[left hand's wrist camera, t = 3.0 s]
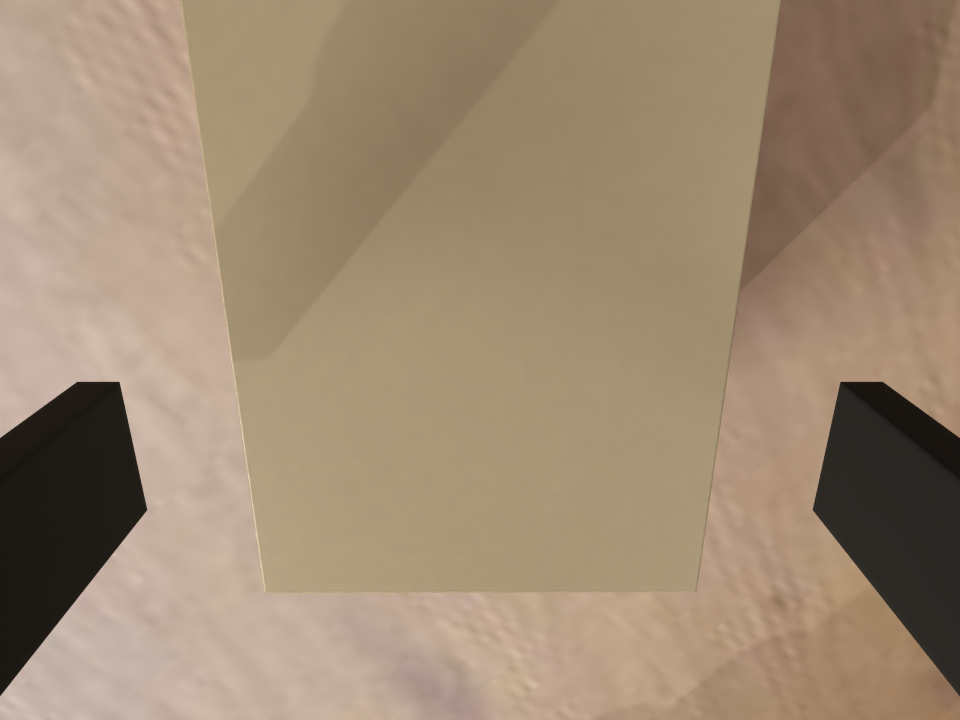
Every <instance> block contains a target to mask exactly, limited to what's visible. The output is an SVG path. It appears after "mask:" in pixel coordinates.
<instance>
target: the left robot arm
mask: <svg viewBox="0 0 960 720" xmlns="http://www.w3.org/2000/svg"><path fill="white" fill-rule="evenodd" d="M146 511H147V507H146V502H145V498H144V493H143V488H142V484H141V479H140V475H139V470H138V465H137V461H136V456H135V452H134V447H133V442H132V438H131V433H130V429H129V424H128V419H127V415H126V410H125V405H124V401H123V396H122V392H121V387H120V382H77V383H75V384H74V385H72V386H71V387H70V388H68V389H67V390H66V391H64V392H63V393H61V394H60V395H59V396H57V397H56V398H55V399H53V400H52V401H50V402H49V403H48V404H46V405H45V406H44V407H42V408H41V409H39V410H38V411H37V412H35V413H34V414H33V415H31V416H30V417H28V418H27V419H26V420H24V421H23V422H22V423H20V424H19V425H17V426H16V427H15V428H13V429H12V430H11V431H9V432H8V433H6V434H5V435H4V436H2V437H1V438H0V696H1V694H2V693H3V692H4V691H5V689H6V688H7V687H8V686H9V684H10V683H11V682H12V680H13V679H14V678H15V677H16V675H17V674H18V673H19V672H20V670H21V669H22V668H23V667H24V665H25V664H26V663H27V661H28V660H29V659H30V658H31V656H32V655H33V654H34V653H35V651H36V650H37V649H38V648H39V646H40V645H41V644H42V643H43V641H44V640H45V639H46V637H47V636H48V635H49V634H50V632H51V631H52V630H53V629H54V627H55V626H56V625H57V624H58V622H59V621H60V620H61V618H62V617H63V616H64V615H65V613H66V612H67V611H68V610H69V608H70V607H71V606H72V605H73V603H74V602H75V601H76V599H77V598H78V597H79V596H80V594H81V593H82V592H83V591H84V589H85V588H86V587H87V586H88V584H89V583H90V582H91V580H92V579H93V578H94V577H95V575H96V574H97V573H98V572H99V570H100V569H101V568H102V567H103V565H104V564H105V563H106V561H107V560H108V559H109V558H110V556H111V555H112V554H113V553H114V551H115V550H116V549H117V548H118V546H119V545H120V544H121V543H122V541H123V540H124V539H125V537H126V536H127V535H128V534H129V532H130V531H131V530H132V529H133V527H134V526H135V525H136V524H137V522H138V521H139V520H140V518H141V517H142V516H143V515H144V513H145V512H146ZM813 511H814V512H815V513H816V515H817V516H818V517H819V518H820V520H821V521H822V522H823V524H824V525H825V526H826V527H827V529H828V530H829V531H830V532H831V534H832V535H833V536H834V537H835V539H836V540H837V541H838V543H839V544H840V545H841V546H842V548H843V549H844V550H845V551H846V553H847V554H848V555H849V556H850V558H851V559H852V560H853V561H854V563H855V564H856V565H857V567H858V568H859V569H860V570H861V572H862V573H863V574H864V575H865V577H866V578H867V579H868V580H869V582H870V583H871V584H872V586H873V587H874V588H875V589H876V591H877V592H878V593H879V594H880V596H881V597H882V598H883V599H884V601H885V602H886V603H887V605H888V606H889V607H890V608H891V610H892V611H893V612H894V613H895V615H896V616H897V617H898V618H899V620H900V621H901V622H902V624H903V625H904V626H905V627H906V629H907V630H908V631H909V632H910V634H911V635H912V636H913V637H914V639H915V640H916V641H917V643H918V644H919V645H920V646H921V648H922V649H923V650H924V651H925V653H926V654H927V655H928V656H929V658H930V659H931V660H932V661H933V663H934V664H935V665H936V667H937V668H938V669H939V670H940V672H941V673H942V674H943V675H944V677H945V678H946V679H947V680H948V682H949V683H950V684H951V686H952V687H953V688H954V689H955V691H956V692H957V693H958V694H959V696H960V438H959V437H958V436H956V435H955V434H954V433H952V432H951V431H949V430H948V429H947V428H945V427H944V426H943V425H941V424H940V423H938V422H937V421H936V420H934V419H933V418H932V417H930V416H929V415H927V414H926V413H925V412H923V411H922V410H921V409H919V408H918V407H916V406H915V405H914V404H912V403H911V402H910V401H908V400H907V399H905V398H904V397H903V396H901V395H900V394H899V393H897V392H896V391H894V390H893V389H892V388H890V387H889V386H888V385H886V384H885V383H883V382H840V387H839V392H838V396H837V401H836V405H835V410H834V415H833V419H832V424H831V429H830V433H829V438H828V442H827V447H826V452H825V456H824V461H823V465H822V470H821V475H820V479H819V484H818V488H817V493H816V498H815V502H814V507H813Z"/></svg>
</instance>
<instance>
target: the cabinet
mask: <svg viewBox="0 0 960 720" xmlns="http://www.w3.org/2000/svg"><path fill="white" fill-rule="evenodd" d="M180 3H181V10H182V17H183V24H184V31H185V38H186V45H187V52H188V59H189V66H190V73H191V80H192V87H193V94H194V101H195V108H196V115H197V122H198V129H199V136H200V143H201V150H202V157H203V164H204V171H205V178H206V185H207V192H208V199H209V206H210V213H211V220H212V227H213V234H214V241H215V248H216V255H217V262H218V269H219V276H220V283H221V290H222V297H223V304H224V311H225V318H226V325H227V332H228V339H229V346H230V353H231V360H232V367H233V374H234V381H235V389H236V396H237V403H238V410H239V417H240V424H241V431H242V438H243V445H244V452H245V459H246V466H247V473H248V480H249V487H250V494H251V501H252V508H253V515H254V522H255V529H256V536H257V543H258V550H259V557H260V564H261V571H262V578H263V585H264V591H265V592H266V593H464V592H696V591H697V584H698V577H699V571H700V564H701V557H702V550H703V543H704V536H705V529H706V522H707V515H708V508H709V501H710V494H711V487H712V480H713V473H714V466H715V459H716V452H717V445H718V438H719V431H720V424H721V417H722V410H723V403H724V396H725V389H726V382H727V375H728V368H729V361H730V354H731V347H732V340H733V333H734V326H735V319H736V312H737V305H738V298H739V291H740V284H741V277H742V270H743V264H744V257H745V250H746V243H747V236H748V229H749V222H750V215H751V208H752V201H753V194H754V187H755V180H756V173H757V166H758V159H759V152H760V145H761V138H762V131H763V124H764V117H765V110H766V103H767V96H768V89H769V82H770V75H771V68H772V61H773V54H774V47H775V40H776V33H777V26H778V19H779V12H780V5H781V0H180Z"/></svg>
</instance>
